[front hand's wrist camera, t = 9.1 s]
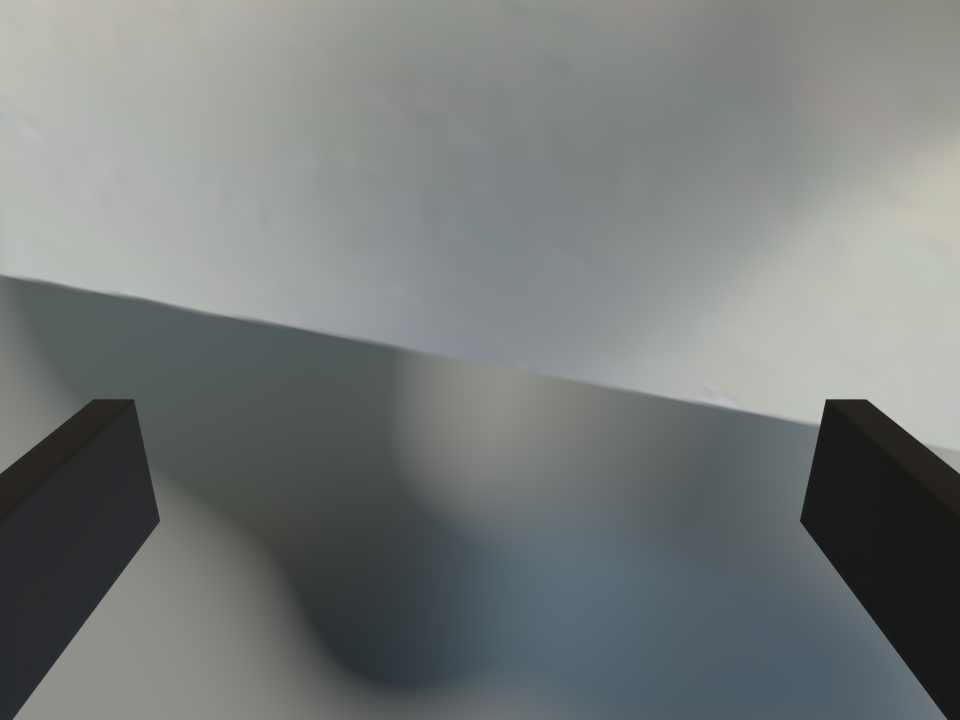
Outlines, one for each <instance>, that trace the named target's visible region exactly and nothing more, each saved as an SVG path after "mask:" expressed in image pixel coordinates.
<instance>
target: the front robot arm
mask: <svg viewBox="0 0 960 720" xmlns="http://www.w3.org/2000/svg"><path fill="white" fill-rule="evenodd" d="M159 522H160V519H159V514H158V509H157V505H156V500H155V495H154V491H153V486H152V481H151V477H150V472H149V467H148V463H147V458H146V453H145V449H144V444H143V439H142V435H141V430H140V425H139V421H138V416H137V411H136V407H135V402H134V399H94V400H92V401H91V402H90V403H89V404H87V405H86V406H85V407H84V408H82V409H81V410H80V411H79V412H77V413H76V414H75V415H74V416H72V417H71V418H70V419H69V420H67V421H66V422H65V423H64V424H62V425H61V426H60V427H59V428H57V429H56V430H55V431H53V432H52V433H51V434H50V435H48V436H47V437H46V438H45V439H44V440H42V441H41V442H40V443H39V444H37V445H36V446H35V447H33V448H32V449H31V450H30V451H28V452H27V453H26V454H25V455H23V456H22V457H21V458H20V459H18V460H17V461H16V462H15V463H13V464H12V465H11V466H10V467H9V468H7V469H6V470H5V471H3V472H2V473H1V474H0V720H13V718H14V717H15V716H16V714H17V713H18V712H19V710H20V709H21V708H22V706H23V705H24V703H25V702H26V701H27V699H28V698H29V697H30V695H31V694H32V693H33V691H34V690H35V689H36V687H37V686H38V685H39V683H40V682H41V681H42V679H43V678H44V677H45V675H46V674H47V673H48V671H49V670H50V669H51V667H52V666H53V664H54V663H55V662H56V660H57V659H58V658H59V656H60V655H61V654H62V652H63V651H64V650H65V648H66V647H67V646H68V644H69V643H70V642H71V640H72V639H73V638H74V636H75V635H76V634H77V632H78V631H79V630H80V628H81V627H82V625H83V624H84V623H85V621H86V620H87V619H88V617H89V616H90V615H91V613H92V612H93V611H94V609H95V608H96V607H97V605H98V604H99V603H100V601H101V600H102V598H103V597H104V596H105V595H106V593H107V592H108V590H109V589H110V588H111V586H112V585H113V584H114V582H115V581H116V580H117V578H118V577H119V576H120V574H121V573H122V572H123V570H124V569H125V568H126V566H127V565H128V564H129V562H130V561H131V560H132V558H133V557H134V555H135V554H136V553H137V551H138V550H139V549H140V547H141V546H142V545H143V543H144V542H145V541H146V539H147V538H148V537H149V535H150V534H151V533H152V531H153V530H154V529H155V527H156V526H157V525H158V523H159ZM800 522H801V523H802V525H803V526H804V527H805V529H806V530H807V531H808V533H809V534H810V535H811V537H812V538H813V539H814V541H815V542H816V543H817V545H818V546H819V547H820V549H821V550H822V551H823V553H824V554H825V555H826V557H827V558H828V560H829V561H830V562H831V564H832V565H833V566H834V568H835V569H836V570H837V572H838V573H839V574H840V576H841V577H842V578H843V580H844V581H845V582H846V584H847V585H848V586H849V588H850V589H851V590H852V592H853V593H854V595H855V596H856V597H857V598H858V600H859V601H860V603H861V604H862V605H863V607H864V608H865V609H866V611H867V612H868V613H869V615H870V616H871V617H872V619H873V620H874V621H875V623H876V624H877V625H878V627H879V628H880V629H881V631H882V632H883V634H884V635H885V636H886V637H887V639H888V640H889V642H890V643H891V644H892V646H893V647H894V648H895V650H896V651H897V652H898V654H899V655H900V656H901V658H902V659H903V660H904V662H905V663H906V664H907V666H908V667H909V669H910V670H911V671H912V672H913V674H914V675H915V676H916V678H917V679H918V681H919V682H920V683H921V685H922V686H923V687H924V689H925V690H926V691H927V693H928V694H929V695H930V697H931V698H932V699H933V701H934V702H935V704H936V705H937V706H938V708H939V709H940V710H941V712H942V713H943V714H944V716H945V717H946V718H947V720H960V474H959V473H958V472H957V471H955V470H954V469H953V468H952V467H950V466H949V465H948V464H947V463H945V462H944V461H943V460H942V459H940V458H939V457H938V456H937V455H935V454H934V453H933V452H932V451H930V450H929V449H928V448H927V447H925V446H924V445H923V444H922V443H920V442H919V441H918V440H917V439H915V438H914V437H913V436H912V435H910V434H909V433H908V432H907V431H905V430H904V429H903V428H902V427H900V426H899V425H898V424H897V423H895V422H894V421H893V420H892V419H890V418H889V417H888V416H887V415H885V414H884V413H883V412H881V411H880V410H879V409H878V408H876V407H875V406H874V405H873V404H871V403H870V402H869V401H868V400H866V399H826V402H825V407H824V411H823V416H822V421H821V425H820V430H819V435H818V439H817V444H816V449H815V453H814V458H813V463H812V467H811V472H810V477H809V481H808V486H807V491H806V495H805V500H804V505H803V509H802V514H801V519H800Z"/></svg>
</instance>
